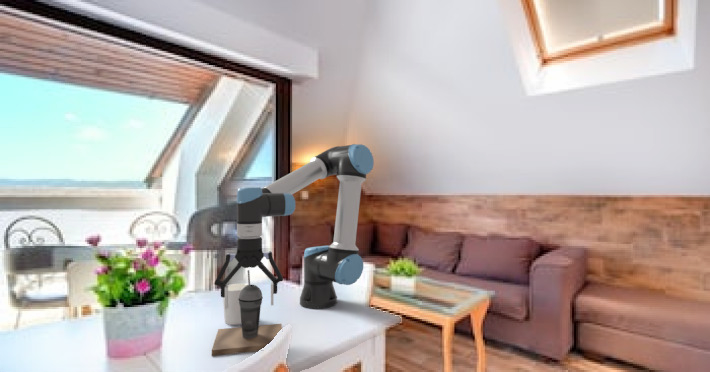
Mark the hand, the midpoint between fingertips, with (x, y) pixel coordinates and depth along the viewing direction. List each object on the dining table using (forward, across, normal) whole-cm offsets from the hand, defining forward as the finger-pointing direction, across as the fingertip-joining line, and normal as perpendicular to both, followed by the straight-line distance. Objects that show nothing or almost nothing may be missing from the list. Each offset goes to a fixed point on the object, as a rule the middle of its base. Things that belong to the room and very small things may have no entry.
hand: (249, 305), depth 114 cm
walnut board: (+11, 0, 0) cm, 11 cm away
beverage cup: (+9, 0, 0) cm, 9 cm away
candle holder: (+11, -5, +19) cm, 22 cm away
